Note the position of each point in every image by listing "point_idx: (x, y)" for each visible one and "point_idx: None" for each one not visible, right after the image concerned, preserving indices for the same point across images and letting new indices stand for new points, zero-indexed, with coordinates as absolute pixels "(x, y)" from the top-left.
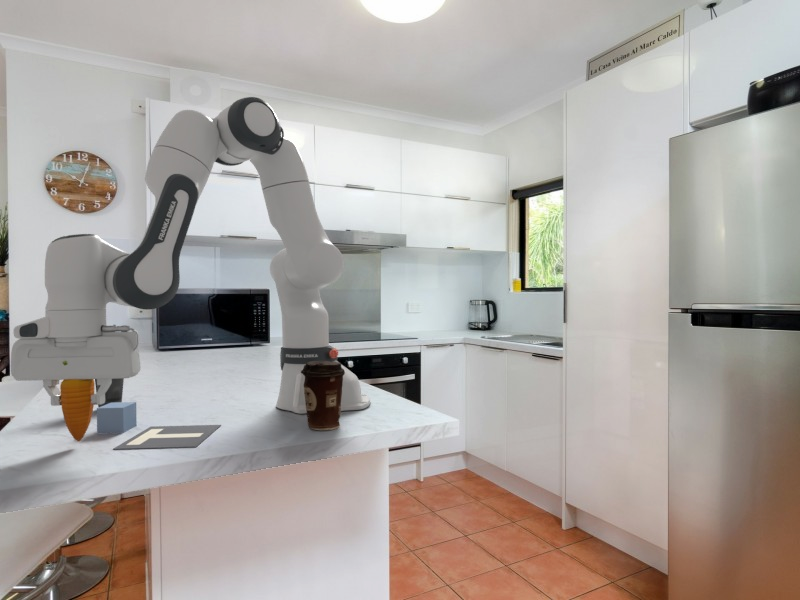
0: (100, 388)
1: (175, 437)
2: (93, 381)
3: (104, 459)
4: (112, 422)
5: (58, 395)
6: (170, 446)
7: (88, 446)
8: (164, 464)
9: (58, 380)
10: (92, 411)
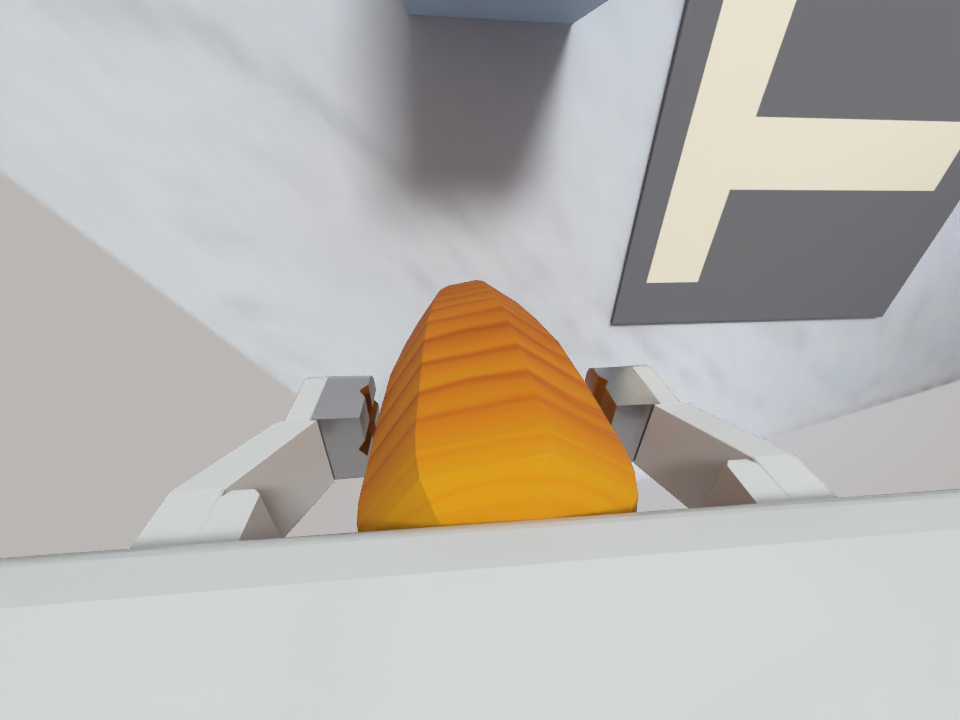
0: (694, 504)
1: (838, 190)
2: (632, 482)
3: None
4: (518, 4)
5: (351, 465)
6: (803, 311)
7: (498, 275)
8: (772, 434)
9: (251, 538)
10: (540, 324)
